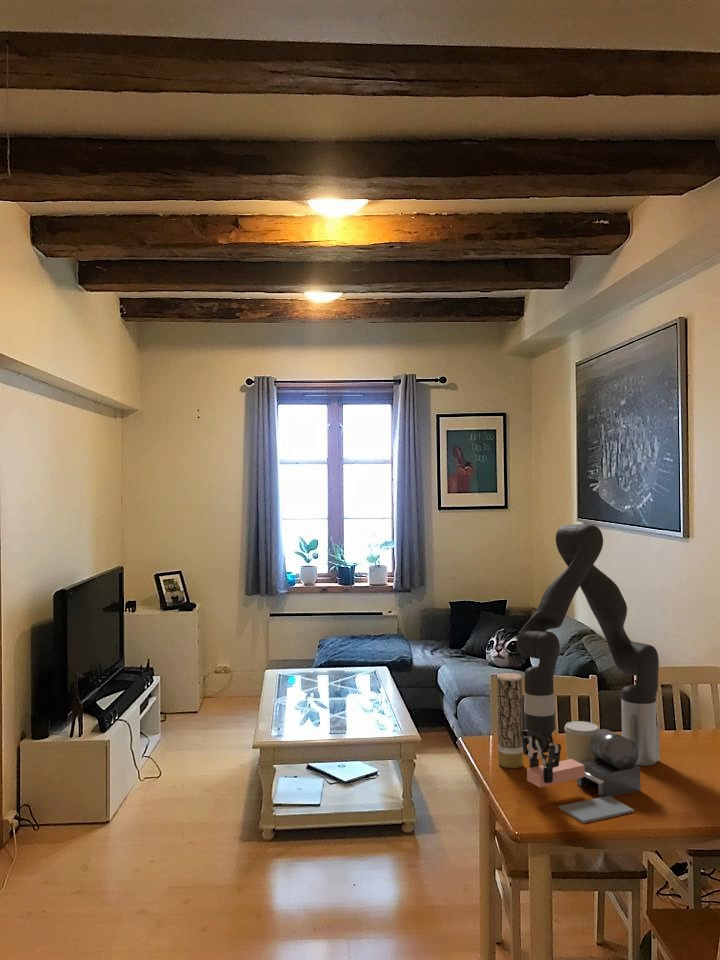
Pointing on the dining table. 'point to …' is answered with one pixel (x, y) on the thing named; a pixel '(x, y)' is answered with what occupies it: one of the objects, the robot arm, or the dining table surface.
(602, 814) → the mat
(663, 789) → the dining table surface
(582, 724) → the coffee cup
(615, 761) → the dispenser
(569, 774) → the pink block
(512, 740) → the bark print canister
